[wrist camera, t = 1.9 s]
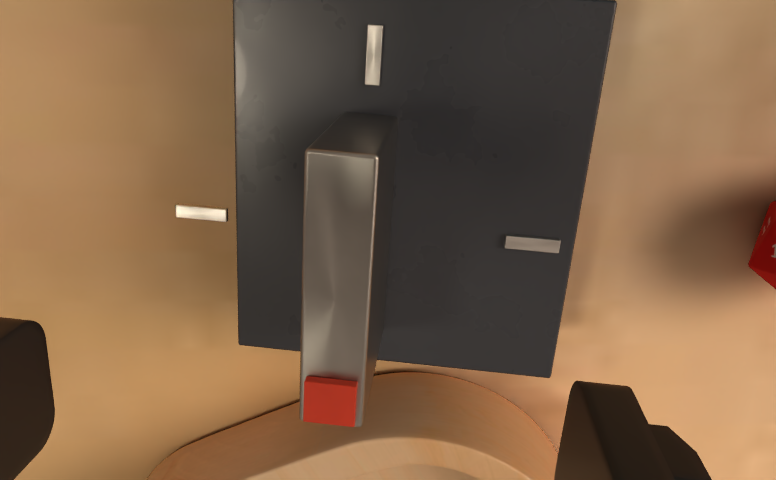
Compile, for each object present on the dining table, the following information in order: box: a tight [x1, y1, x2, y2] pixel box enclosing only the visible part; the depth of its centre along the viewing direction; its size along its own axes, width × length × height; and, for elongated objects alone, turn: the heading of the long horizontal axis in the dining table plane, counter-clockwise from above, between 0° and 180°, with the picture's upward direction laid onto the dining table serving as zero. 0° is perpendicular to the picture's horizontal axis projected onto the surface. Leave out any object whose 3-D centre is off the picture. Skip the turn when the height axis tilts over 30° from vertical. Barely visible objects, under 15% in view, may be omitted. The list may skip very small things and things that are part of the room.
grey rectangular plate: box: [299, 112, 398, 427], centre depth 15 cm, size 6×1×5 cm, turn 176°
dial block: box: [175, 0, 617, 378], centre depth 18 cm, size 11×11×3 cm
